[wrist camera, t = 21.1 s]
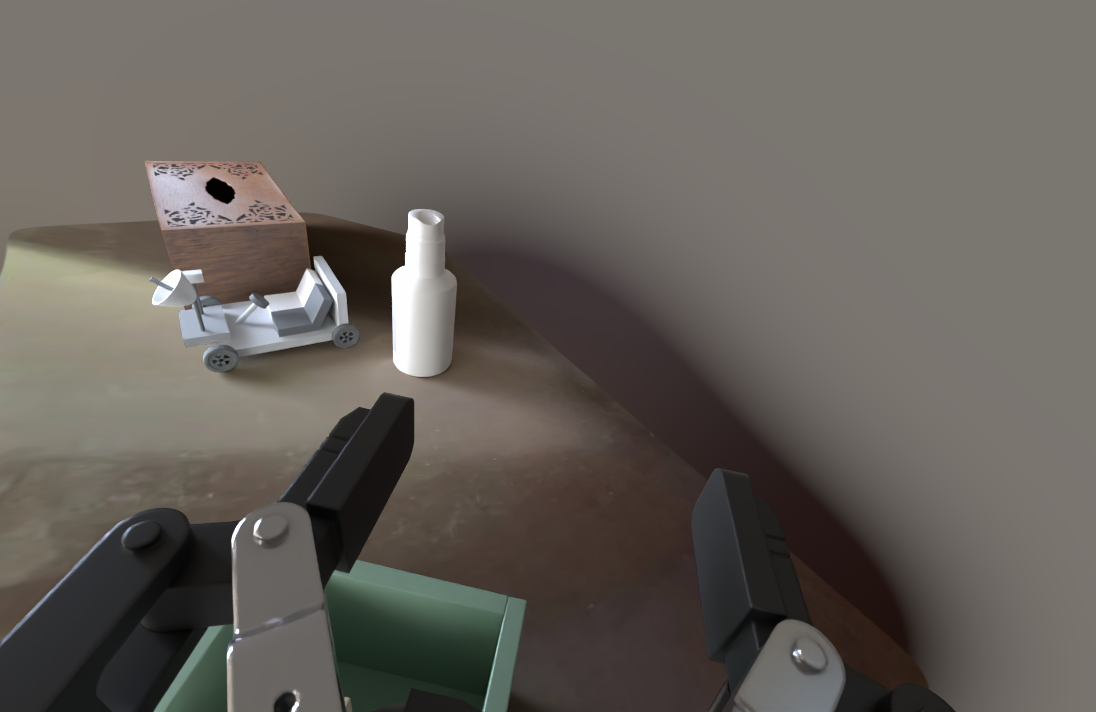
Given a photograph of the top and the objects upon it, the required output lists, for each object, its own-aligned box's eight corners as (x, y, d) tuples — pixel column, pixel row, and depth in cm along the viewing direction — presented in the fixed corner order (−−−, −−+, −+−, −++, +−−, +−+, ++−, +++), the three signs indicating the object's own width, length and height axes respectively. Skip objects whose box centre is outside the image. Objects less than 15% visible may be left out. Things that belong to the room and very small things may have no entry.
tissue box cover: (164, 229, 72) (144, 161, 66) (270, 223, 80) (260, 162, 74) (185, 310, 56) (160, 230, 51) (313, 292, 65) (305, 222, 59)
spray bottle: (443, 342, 60) (450, 203, 50) (458, 374, 55) (470, 228, 45) (388, 347, 57) (384, 201, 47) (399, 382, 52) (397, 228, 42)
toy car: (144, 295, 41) (140, 242, 48) (175, 381, 47) (167, 323, 54) (355, 271, 51) (326, 231, 58) (360, 345, 57) (333, 300, 64)
